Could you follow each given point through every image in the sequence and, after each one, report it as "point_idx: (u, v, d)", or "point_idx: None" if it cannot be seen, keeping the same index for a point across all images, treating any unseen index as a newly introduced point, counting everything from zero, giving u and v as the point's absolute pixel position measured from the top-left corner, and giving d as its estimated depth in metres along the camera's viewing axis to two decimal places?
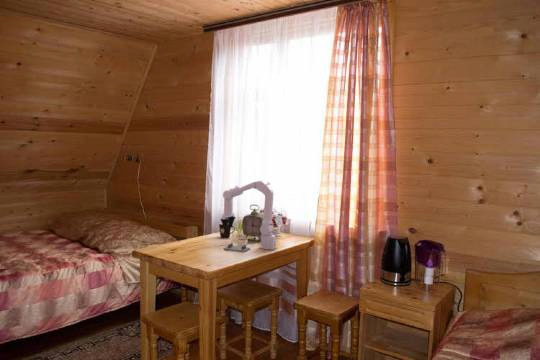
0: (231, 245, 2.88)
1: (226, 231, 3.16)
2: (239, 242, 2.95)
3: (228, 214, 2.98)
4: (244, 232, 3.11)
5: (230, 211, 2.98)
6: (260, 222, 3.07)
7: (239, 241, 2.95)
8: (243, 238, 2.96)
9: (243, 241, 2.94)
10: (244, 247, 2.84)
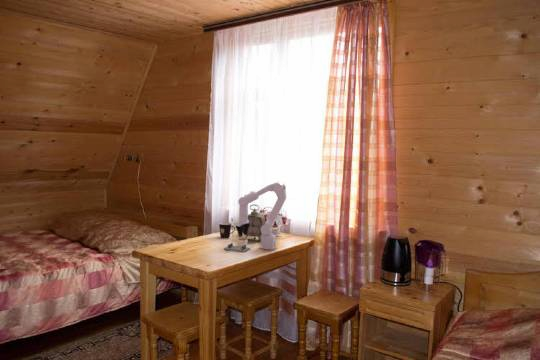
0: (231, 245, 2.88)
1: (226, 231, 3.16)
2: (239, 242, 2.95)
3: (243, 221, 2.92)
4: None
5: (245, 218, 2.93)
6: (260, 222, 3.07)
7: (239, 241, 2.95)
8: (243, 238, 2.96)
9: (243, 241, 2.94)
10: (244, 247, 2.84)
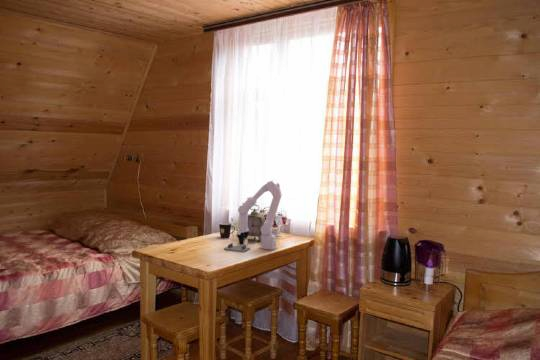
0: (231, 245, 2.88)
1: (226, 231, 3.16)
2: None
3: (243, 229, 2.93)
4: None
5: (245, 226, 2.93)
6: (260, 222, 3.07)
7: None
8: None
9: None
10: (244, 247, 2.84)
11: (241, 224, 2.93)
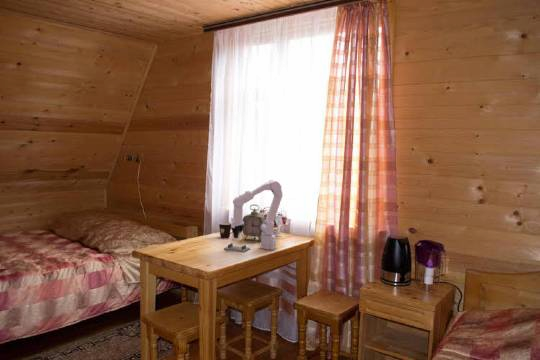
0: (231, 245, 2.88)
1: (226, 231, 3.16)
2: (233, 236, 2.86)
3: (238, 222, 2.83)
4: (244, 232, 3.11)
5: (240, 219, 2.84)
6: (260, 222, 3.07)
7: (233, 234, 2.86)
8: None
9: (238, 234, 2.84)
10: (244, 247, 2.84)
11: (236, 217, 2.83)
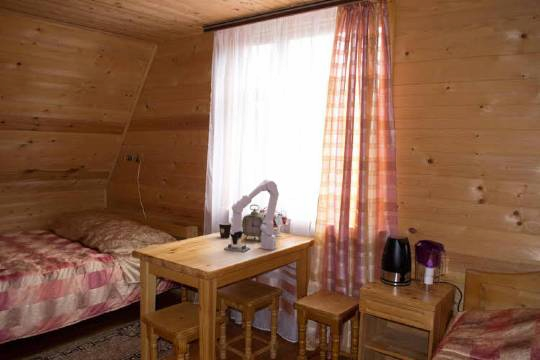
0: None
1: (226, 231, 3.16)
2: (232, 242, 2.84)
3: (237, 229, 2.82)
4: (244, 232, 3.11)
5: (239, 225, 2.83)
6: (260, 222, 3.07)
7: (232, 241, 2.84)
8: None
9: (237, 241, 2.83)
10: (244, 247, 2.84)
11: (235, 223, 2.82)
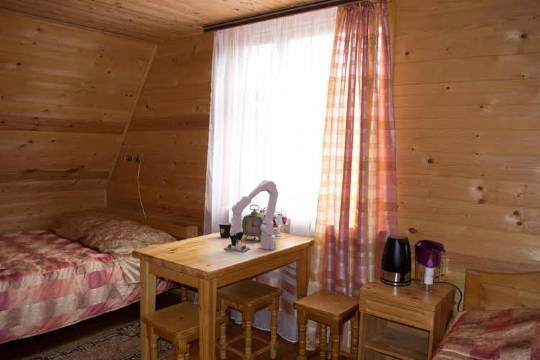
0: None
1: (226, 231, 3.16)
2: None
3: (237, 230, 2.82)
4: (244, 232, 3.11)
5: (239, 226, 2.83)
6: (260, 222, 3.07)
7: None
8: None
9: (237, 243, 2.83)
10: (244, 247, 2.84)
11: (235, 224, 2.82)
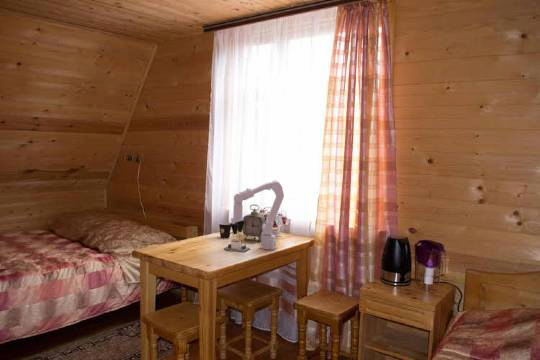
0: None
1: (226, 231, 3.16)
2: (232, 244, 2.85)
3: (238, 218, 2.87)
4: (244, 232, 3.11)
5: (240, 215, 2.88)
6: (260, 222, 3.07)
7: (232, 243, 2.85)
8: (236, 240, 2.86)
9: (237, 243, 2.83)
10: (244, 247, 2.84)
11: (236, 213, 2.87)
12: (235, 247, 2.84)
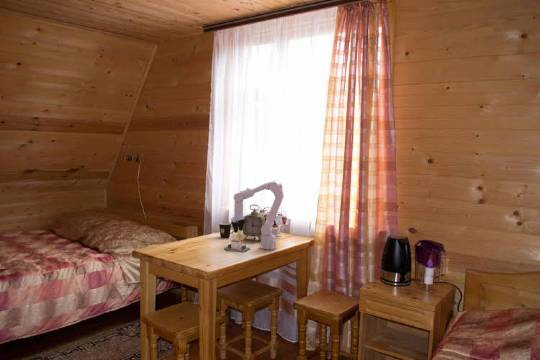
0: None
1: (226, 231, 3.16)
2: (232, 244, 2.85)
3: (238, 217, 2.92)
4: (244, 232, 3.11)
5: (240, 214, 2.93)
6: (260, 222, 3.07)
7: (232, 243, 2.85)
8: (236, 240, 2.86)
9: (237, 243, 2.83)
10: (244, 247, 2.84)
11: (236, 212, 2.92)
12: (235, 247, 2.84)
